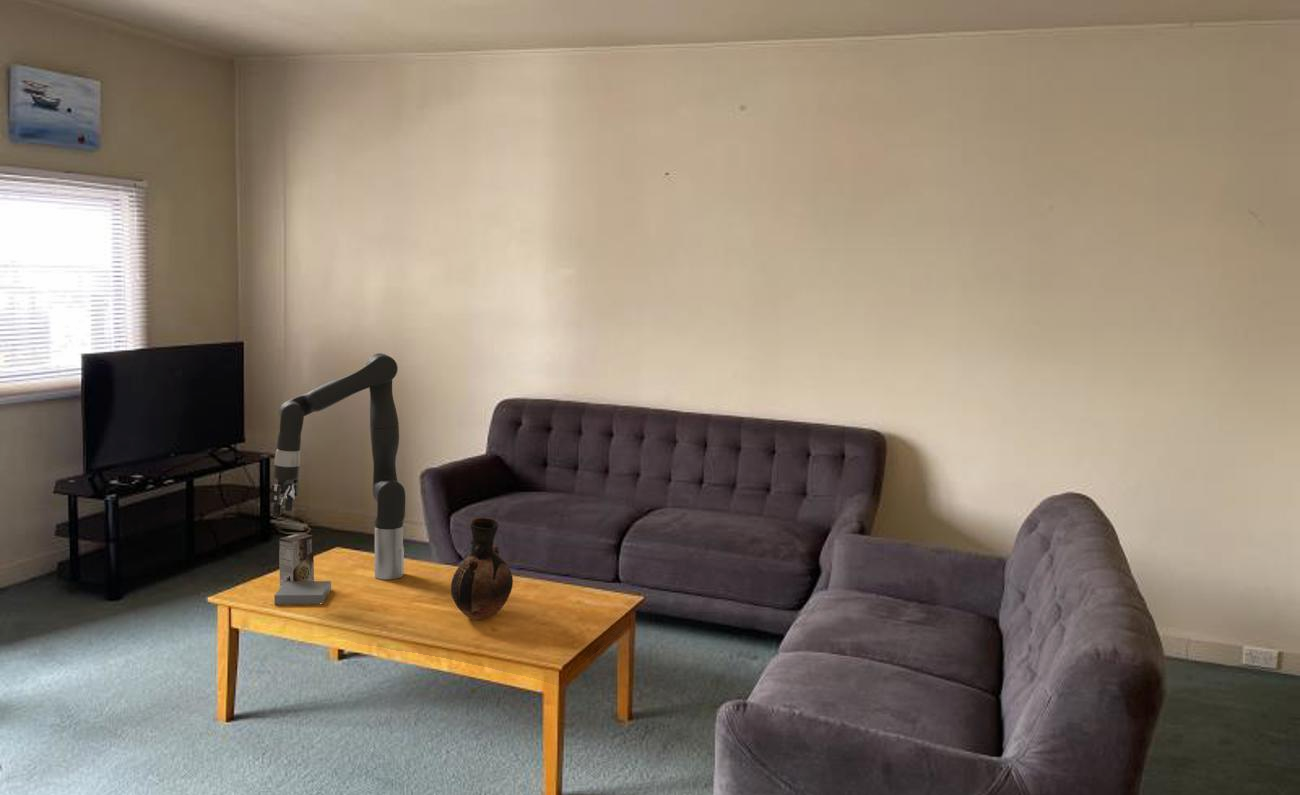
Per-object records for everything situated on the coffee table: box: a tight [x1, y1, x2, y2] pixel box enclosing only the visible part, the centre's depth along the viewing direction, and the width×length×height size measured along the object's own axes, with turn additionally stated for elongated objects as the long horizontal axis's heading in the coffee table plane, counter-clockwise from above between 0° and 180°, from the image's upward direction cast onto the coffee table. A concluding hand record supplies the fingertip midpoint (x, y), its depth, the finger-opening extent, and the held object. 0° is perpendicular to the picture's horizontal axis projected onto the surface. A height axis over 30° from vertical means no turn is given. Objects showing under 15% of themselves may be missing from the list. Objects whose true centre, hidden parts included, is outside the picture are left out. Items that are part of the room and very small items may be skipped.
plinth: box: [273, 580, 332, 605], centre depth 304 cm, size 14×14×3 cm
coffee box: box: [278, 532, 315, 587], centre depth 315 cm, size 9×6×16 cm
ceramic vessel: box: [450, 517, 514, 621], centre depth 290 cm, size 21×18×30 cm
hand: (282, 513), depth 311 cm, fingers open, 8 cm apart
